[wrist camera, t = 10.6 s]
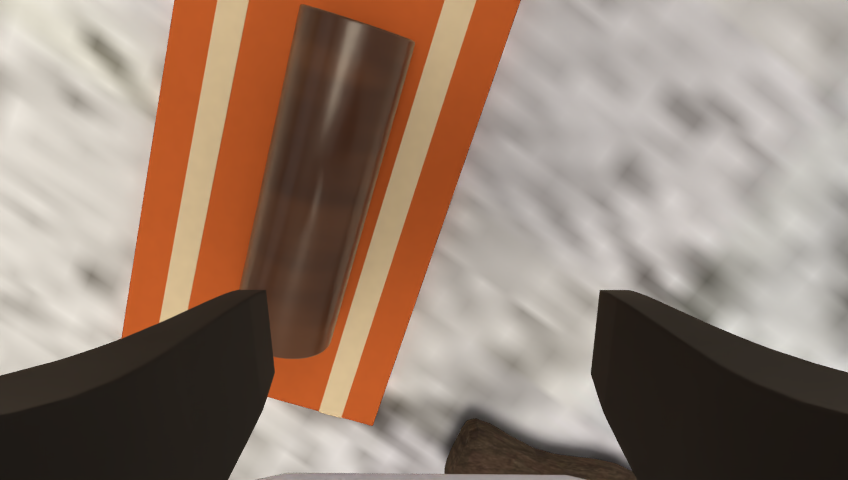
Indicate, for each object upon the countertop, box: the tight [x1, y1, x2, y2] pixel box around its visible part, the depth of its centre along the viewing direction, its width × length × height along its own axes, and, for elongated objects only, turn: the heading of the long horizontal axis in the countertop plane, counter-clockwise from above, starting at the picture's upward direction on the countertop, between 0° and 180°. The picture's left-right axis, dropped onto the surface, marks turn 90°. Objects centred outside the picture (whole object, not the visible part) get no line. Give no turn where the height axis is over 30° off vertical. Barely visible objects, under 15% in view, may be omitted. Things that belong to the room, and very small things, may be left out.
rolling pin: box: [239, 4, 415, 359], centre depth 18 cm, size 11×4×4 cm, turn 163°
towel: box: [122, 0, 521, 426], centre depth 20 cm, size 20×11×1 cm, turn 162°
